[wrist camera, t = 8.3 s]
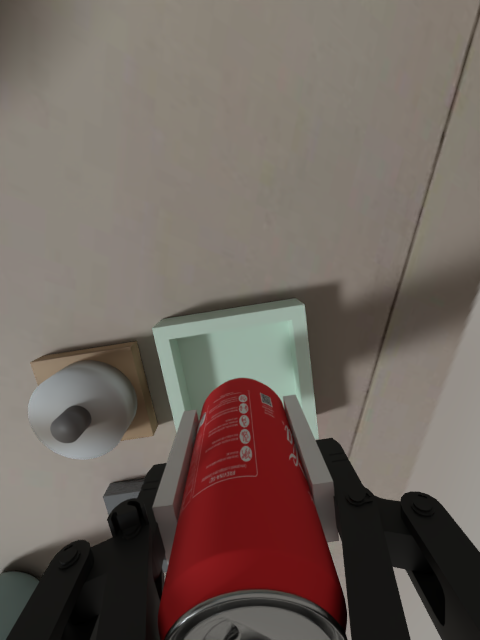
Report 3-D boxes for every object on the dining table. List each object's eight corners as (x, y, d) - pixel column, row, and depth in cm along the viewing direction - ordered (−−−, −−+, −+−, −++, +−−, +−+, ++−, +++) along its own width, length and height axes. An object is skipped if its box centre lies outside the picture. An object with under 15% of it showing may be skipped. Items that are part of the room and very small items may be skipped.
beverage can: (226, 357, 18) (211, 556, 6) (296, 394, 18) (404, 637, 7) (189, 422, 19) (112, 700, 7) (256, 454, 19) (289, 759, 8)
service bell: (42, 355, 24) (-14, 385, 18) (136, 341, 23) (107, 366, 18) (70, 438, 25) (26, 488, 20) (157, 425, 25) (137, 471, 20)
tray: (162, 319, 23) (151, 328, 20) (295, 298, 23) (304, 304, 20) (188, 435, 26) (182, 459, 23) (309, 417, 25) (318, 438, 23)
